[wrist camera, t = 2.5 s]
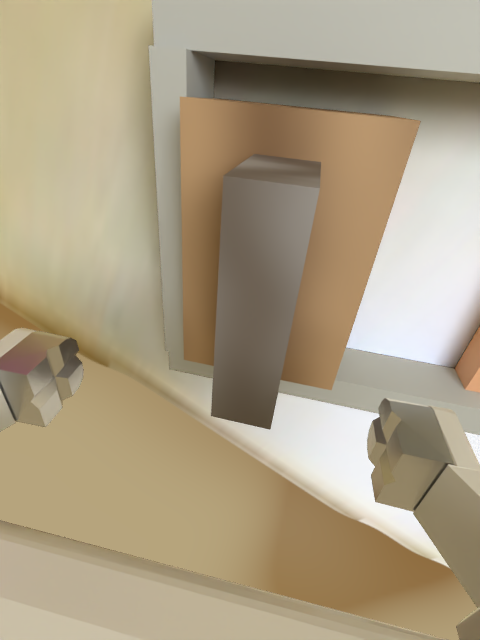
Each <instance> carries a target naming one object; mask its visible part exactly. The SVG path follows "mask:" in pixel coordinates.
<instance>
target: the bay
mask: <svg viewBox="0 0 480 640" xmlns="http://www.w3.org/2000/svg"><path fill="white" fill-rule="evenodd" d="M152 14H153V34H154V46H151V45H149V62H150V80H151V98H152V116H153V134H154V153H155V171H156V189H157V207H158V225H159V244H160V262H161V280H162V298H163V317H164V335H165V351H169V369H171V370H176V371H181V372H185V373H190V374H195V375H199V376H204V377H209V378H213V370H214V366H211V365H206V364H201V363H197V362H192V361H187V360H184V342H183V278H182V213H181V149H180V97H197V98H214V71H215V60H219V61H231V62H243V63H254V64H266V65H278V66H289V67H301V68H312V69H324V70H336V71H347V72H359V73H371V74H382V75H394V76H406V77H417V78H429V79H441V80H452V81H464V82H476V83H480V0H152ZM278 392H280V393H284V394H289V395H294V396H298V397H303V398H308V399H312V400H317V401H322V402H327V403H331V404H336V405H341V406H345V407H350V408H355V409H360V410H364V411H369V412H374V413H378V414H379V410H378V408H379V406H380V404H381V401H382V400H383V399H384V398H389V399H395V400H400V401H406V402H411V403H417V404H422V405H427V406H435V407H441V408H446V409H451V410H453V411H454V412H455V413H456V415H457V417H458V419H459V422H460V424H461V426H462V428H463V430H464V432H468V433H472V434H477V435H480V326H479V328H478V330H477V331H476V333H475V335H474V336H473V338H472V340H471V341H470V343H469V345H468V346H467V348H466V350H465V352H464V353H463V355H462V357H461V358H460V360H459V362H458V363H457V365H456V367H455V368H450V367H445V366H439V365H434V364H429V363H424V362H418V361H413V360H408V359H403V358H397V357H392V356H387V355H382V354H376V353H371V352H366V351H361V350H355V349H350V348H345V351H344V354H343V357H342V360H341V363H340V366H339V369H338V372H337V375H336V378H335V381H334V384H333V387H332V390H327V389H322V388H317V387H312V386H307V385H303V384H298V383H293V382H288V381H283V380H280V385H279V390H278Z"/></svg>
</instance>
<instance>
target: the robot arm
mask: <svg viewBox="0 0 480 640" xmlns="http://www.w3.org/2000/svg"><path fill="white" fill-rule="evenodd" d="M78 351H79V348H78V345H77V341H76V340H74V339H72V338H69V337H65V336H60V335H56V334H51V333H46V332H42V331H35V330H31V329H26V328H19V329H15V330H13V331H12V332H11V333H9V334H8V335H6V336H5V337H4V338H2V339H1V340H0V432H1V431H3V430H4V429H6V428H8V427H9V426H11V425H13V424H15V421H17V422H22V423H27V424H32V425H38V426H42V427H46V426H47V425H48V424H49V423H50V422H51V420H52V419H53V418H54V417H55V416H56V415H57V414H58V412H59V411H60V410H61V409H62V400H64V399H66V398H68V397H71V396H73V395H74V393H75V392H76V391H77V390H78V388H79V387H80V384H81V382H82V378H83V371H84V369H83V365H82V362H81V361H80V360H79V359H78V358H77V357H76V354H77V352H78ZM378 410H379V416H380V417H379V418H377V419H375V420H373V421H372V424H371V426H370V429H369V433H368V439H367V451H368V458H369V460H370V461H371V462H372V463H373V464H374V466H375V468H374V470H373V472H372V474H371V478H372V484H373V491H374V497H375V502H378V503H382V504H386V505H390V506H394V507H397V508H401V509H405V510H409V511H413V512H414V513H413V514H414V516H415V517H416V518H417V520H418V521H419V523H420V524H421V526H422V527H423V529H424V530H425V532H426V533H427V535H428V536H429V538H430V539H431V540H432V542H433V543H434V545H435V546H436V548H437V549H438V551H439V552H440V554H441V555H442V557H443V558H444V560H445V561H446V562H447V564H448V565H449V567H450V568H451V570H452V571H453V573H454V574H455V576H456V577H457V578H458V580H459V582H460V583H461V585H462V586H463V587H464V589H465V590H466V592H467V593H468V595H469V596H470V598H471V599H472V601H473V602H474V604H475V605H476V606H477V609H476V610H474V611H473V612H471V613H470V614H469V615H468V616H466V617H465V618H464V619H462V620H461V621H460V622H459V624H458V625H457V626H456V628H457V632H458V635H459V639H460V640H480V464H479V462H478V460H477V458H476V456H475V454H474V452H473V449H472V447H471V445H470V443H469V441H468V439H467V437H466V434H465V432H464V430H463V428H462V426H461V424H460V422H459V419H458V417H457V415H456V413H455V412H454V411H453V410H451V409H446V408H441V407H435V406H427V405H422V404H417V403H411V402H406V401H400V400H395V399H389V398H384V399H383V400H382V401H381V404H380V406H379V408H378ZM0 640H447V639H443V638H440V637H436V636H432V635H429V634H425V633H421V632H417V631H413V630H410V629H406V628H402V627H399V626H395V625H391V624H387V623H383V622H380V621H376V620H372V619H369V618H365V617H361V616H357V615H353V614H349V613H346V612H342V611H339V610H335V609H331V608H327V607H324V606H320V605H316V604H312V603H309V602H305V601H301V600H297V599H294V598H290V597H286V596H283V595H278V594H275V593H271V592H268V591H263V590H260V589H256V588H252V587H249V586H245V585H241V584H238V583H233V582H230V581H226V580H222V579H218V578H215V577H211V576H208V575H204V574H200V573H196V572H193V571H189V570H185V569H181V568H177V567H173V566H170V565H166V564H162V563H159V562H155V561H151V560H148V559H144V558H140V557H136V556H133V555H129V554H125V553H121V552H117V551H114V550H110V549H106V548H102V547H99V546H95V545H91V544H87V543H84V542H80V541H76V540H72V539H69V538H65V537H61V536H57V535H54V534H50V533H46V532H43V531H39V530H35V529H31V528H28V527H24V526H20V525H16V524H12V523H9V522H5V521H1V520H0Z"/></svg>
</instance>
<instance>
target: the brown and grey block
mask: <svg viewBox="0 0 480 640" xmlns="http://www.w3.org/2000/svg"><path fill="white" fill-rule="evenodd" d="M420 122H421V121H418V120H412V119H406V118H400V117H394V116H386V115H377V114H367V113H357V112H347V111H337V110H327V109H317V108H307V107H297V106H287V105H278V104H268V103H258V102H248V101H238V100H228V99H214V98H197V97H180V149H181V213H182V278H183V342H184V360H187V361H192V362H197V363H201V364H206V365H211V366H214V370H213V389H212V409H211V416H213V417H218V418H222V419H226V420H231V421H235V422H240V423H244V424H248V425H253V426H257V427H262V428H266V429H271V424H272V419H273V414H274V409H275V404H276V399H277V395H278V390H279V385H280V380H283V381H288V382H293V383H298V384H303V385H307V386H312V387H317V388H322V389H327V390H332V387H333V384H334V381H335V378H336V375H337V372H338V369H339V366H340V363H341V360H342V357H343V354H344V351H345V348H346V345H347V342H348V339H349V336H350V333H351V330H352V327H353V324H354V321H355V318H356V315H357V312H358V309H359V306H360V303H361V300H362V297H363V294H364V291H365V288H366V285H367V282H368V279H369V276H370V273H371V270H372V267H373V264H374V261H375V258H376V255H377V251H378V248H379V245H380V242H381V239H382V236H383V233H384V230H385V227H386V224H387V221H388V218H389V215H390V212H391V209H392V206H393V203H394V200H395V197H396V194H397V191H398V188H399V185H400V182H401V179H402V176H403V173H404V170H405V167H406V164H407V161H408V158H409V155H410V152H411V149H412V146H413V143H414V140H415V137H416V134H417V131H418V128H419V125H420Z"/></svg>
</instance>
